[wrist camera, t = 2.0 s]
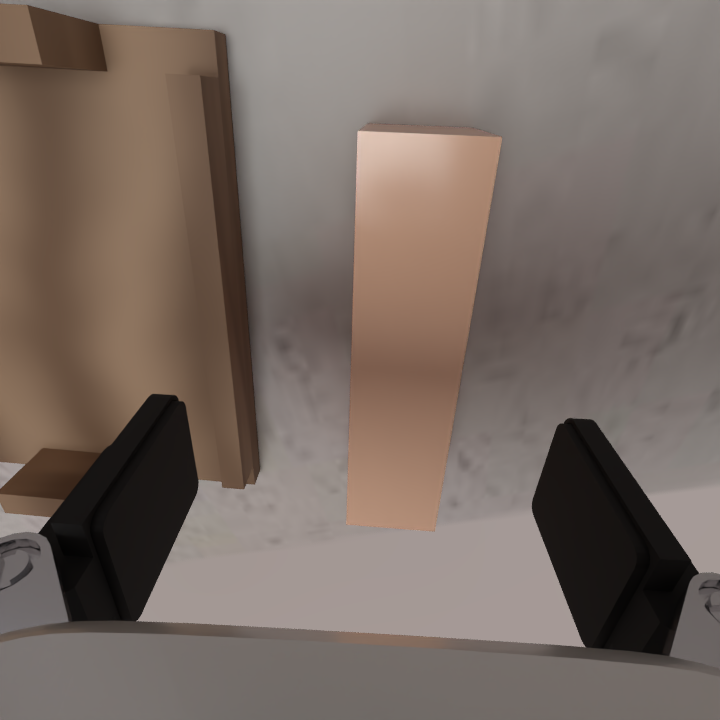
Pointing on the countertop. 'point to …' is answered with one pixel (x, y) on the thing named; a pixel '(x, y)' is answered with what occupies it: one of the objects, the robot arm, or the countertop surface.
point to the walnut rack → (117, 249)
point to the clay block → (412, 311)
